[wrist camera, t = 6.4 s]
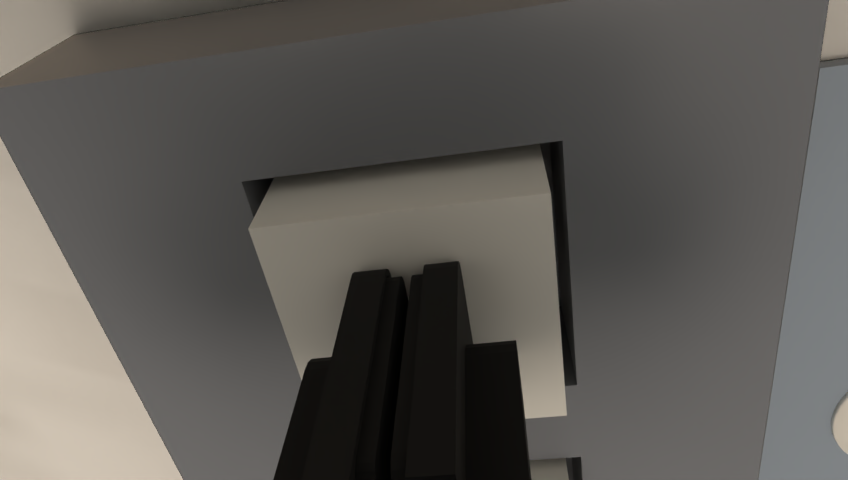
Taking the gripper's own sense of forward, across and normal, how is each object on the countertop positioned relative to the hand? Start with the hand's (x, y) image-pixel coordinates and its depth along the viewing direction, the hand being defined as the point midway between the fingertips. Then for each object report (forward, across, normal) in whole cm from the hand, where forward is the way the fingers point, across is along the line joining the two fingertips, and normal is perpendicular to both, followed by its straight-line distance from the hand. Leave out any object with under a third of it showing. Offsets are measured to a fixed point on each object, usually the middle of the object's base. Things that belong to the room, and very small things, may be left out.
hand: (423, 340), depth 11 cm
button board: (+4, 0, +7) cm, 8 cm away
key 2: (+3, 0, 0) cm, 3 cm away
